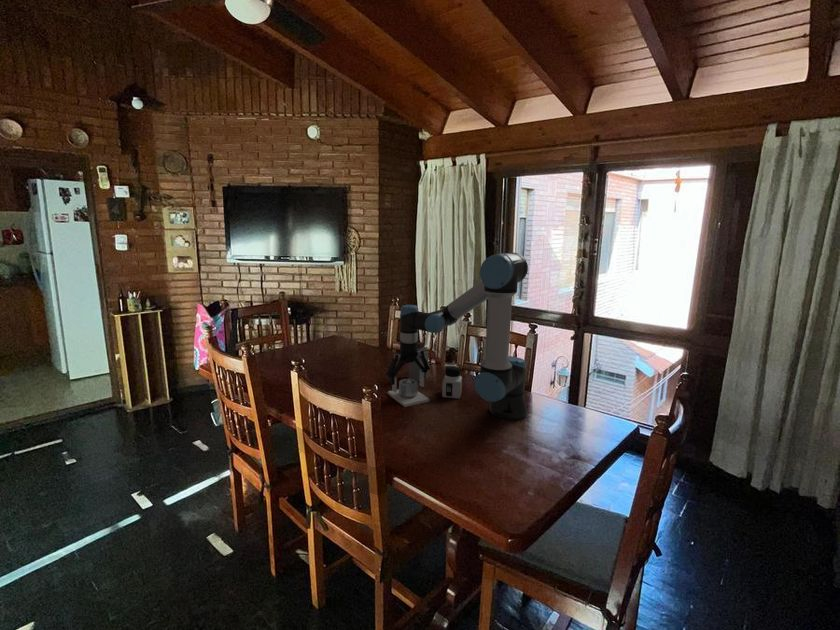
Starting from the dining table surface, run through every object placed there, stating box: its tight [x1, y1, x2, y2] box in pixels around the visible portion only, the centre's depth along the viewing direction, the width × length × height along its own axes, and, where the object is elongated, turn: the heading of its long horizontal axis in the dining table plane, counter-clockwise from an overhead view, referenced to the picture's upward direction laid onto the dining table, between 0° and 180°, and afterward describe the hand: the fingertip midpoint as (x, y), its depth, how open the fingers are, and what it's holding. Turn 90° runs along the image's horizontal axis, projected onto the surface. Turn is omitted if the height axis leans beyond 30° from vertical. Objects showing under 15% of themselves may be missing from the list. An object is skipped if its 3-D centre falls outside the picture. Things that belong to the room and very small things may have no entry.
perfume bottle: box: [408, 341, 429, 383], centre depth 214 cm, size 7×7×18 cm
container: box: [441, 365, 463, 399], centre depth 195 cm, size 8×8×13 cm
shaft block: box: [387, 381, 430, 408], centre depth 191 cm, size 16×12×7 cm
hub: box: [398, 378, 419, 396], centre depth 191 cm, size 8×8×5 cm
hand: (408, 388), depth 191 cm, fingers open, 13 cm apart
